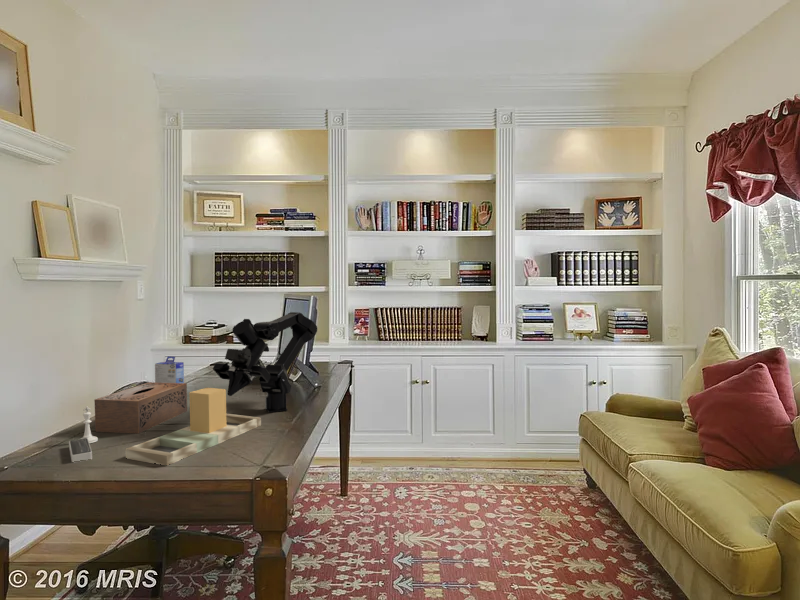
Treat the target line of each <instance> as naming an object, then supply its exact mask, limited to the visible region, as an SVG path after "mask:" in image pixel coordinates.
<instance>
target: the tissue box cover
mask: <svg viewBox="0 0 800 600" xmlns="http://www.w3.org/2000/svg"><path fill="white" fill-rule="evenodd" d="M187 386H188V385H187V383H185V382H184V383H155V381H154V382H153V381H152V382H149V381H148V382H146V383H143V384H139V385H136V386H133V387H129V388H127V389H123V390H120V391H118V392H115V393H111V394H108V395H105V396H101V397H99V398H95V399H94V400H93V401H94V422H95V428H94V429H95V432H100V433H118V434H122V433H123V434H141V433H143V432H146V431H147V430H149V429H152V428H153V427H156V426H158V425H161V424H162V423H165V422H167V421H169V420H171V419H173V418H175V417H179V416H180V415H182V414H184V413H186V412H188V390H187V389H188V387H187Z"/></svg>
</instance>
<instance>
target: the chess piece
mask: <svg viewBox="0 0 800 600" xmlns="http://www.w3.org/2000/svg"><path fill="white" fill-rule="evenodd" d="M83 411H85V412H83V414H82V416H83V418H84V420H83V421H82V423H83V424H85V425H84V434H83V436H82V437H81V438H79V439H83V438H88V441H89V444H92V443H95V442H96V443H97V442H98V441H99V438H98V437H97V436H94V435H93V434H92V431H91V428H90V427H91V426H90V423H92V420H90V419H91V415H92V411H91V408H90V407H89V406H88V405H87V406H85V408H83ZM90 411H91V412H90Z"/></svg>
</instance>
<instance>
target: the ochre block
mask: <svg viewBox="0 0 800 600" xmlns="http://www.w3.org/2000/svg"><path fill="white" fill-rule="evenodd" d="M188 393H189V395H188V396H189V426H190V430H191V431H198V432H205V433H211V432H214V431H216V430H219V429H221V428H224V427H226V426H227V423H226V414H227V389H225V388H216V387H215V388H214V387H204V388H201V389H197V390H194V391H190V392H188Z"/></svg>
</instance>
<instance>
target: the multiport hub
mask: <svg viewBox="0 0 800 600" xmlns="http://www.w3.org/2000/svg"><path fill="white" fill-rule="evenodd" d="M82 438H83V437H82ZM90 444H91V443H89V441H88V438H83V439H80V438H78V439H73V440H69V441H68V447H69V448H68V449H69V455H70V460H71V463H72V462H74V461H80V460H86V461H89V460H88V459H91V460H93V451H92V450H93V449H92V447H91V445H90ZM80 462H81V461H80ZM74 463H75V462H74Z"/></svg>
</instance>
